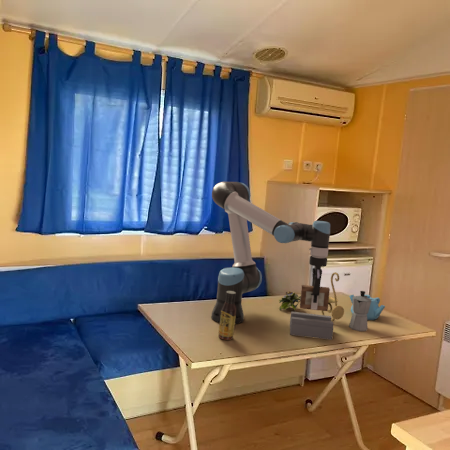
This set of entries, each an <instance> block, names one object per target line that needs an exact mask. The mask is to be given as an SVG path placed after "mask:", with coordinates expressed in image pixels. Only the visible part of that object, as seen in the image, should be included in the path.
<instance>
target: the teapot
mask: <svg viewBox="0 0 450 450" xmlns="http://www.w3.org/2000/svg"><path fill="white" fill-rule="evenodd" d="M354 296H355V295H354V294H350V295H349V299H350V301H351V304H352V305H351V307H350V312H351V315H352V314H353V312H354V311H353V297H354ZM365 296H367V298H370V299H371V304H370V308H369V311H368V314H367V321H375V320H377V319H378V318H380V316H381V314H382V312H383V310H384V309H385V307H386V306H385V305H384V304H381V305H380V302H381V299H380V297H371V295H370V294H365Z"/></svg>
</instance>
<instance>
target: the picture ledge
mask: <svg viewBox="0 0 450 450" xmlns="http://www.w3.org/2000/svg"><path fill="white" fill-rule="evenodd" d="M332 319H333V317H332V315H325V314H324V315H322V314H315V313H307V312H298V311H295V312H294V311H291V312H290V319H289V335H291V336H298V337H299V336H300V337H305V336H306V337H307V338H313V337H314V338H313V339H315V338H316V339H323V340H329V341H333V336H334V335H333V333H334V324H335V323H334V321H333V322H332V321H331V320H332ZM306 337H305V338H306Z"/></svg>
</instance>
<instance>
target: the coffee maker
mask: <svg viewBox="0 0 450 450" xmlns="http://www.w3.org/2000/svg"><path fill="white" fill-rule="evenodd" d="M365 295H366V291H365V290H360V295H354V297H353V304H352V305H353V311H354V312H353V314H352V313H351V318H350V321H349V325H348V328H350V329H351V330H353V331H357V332H367V331H368V328H369V327H368V320H367V314H368V311H369V308H370V304H371V299H370V298H367V296H365Z"/></svg>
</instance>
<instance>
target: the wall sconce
mask: <svg viewBox="0 0 450 450" xmlns="http://www.w3.org/2000/svg"><path fill="white" fill-rule="evenodd" d="M334 276H336V277H337V278H335V279H334ZM333 280H335V282H339V280H340V275H339V273H338V272H332V273H331V276H330V285H331V289H332V293H333V296H334V297H332V296H329V302H328V306H329V307H330V308H329V309H328V311H327V313H329V314H330V313H331V318H332V319H331V321H332V322H333V323H334V321H335V320H340V319H342V318H343V317H344V314H345V309H344V308H343V306H341V305H338V302H339V300H338V299H337V293H336V290H335V285H334V281H333ZM332 304H334V307H333V305H332ZM321 315H325V311H321Z"/></svg>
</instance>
